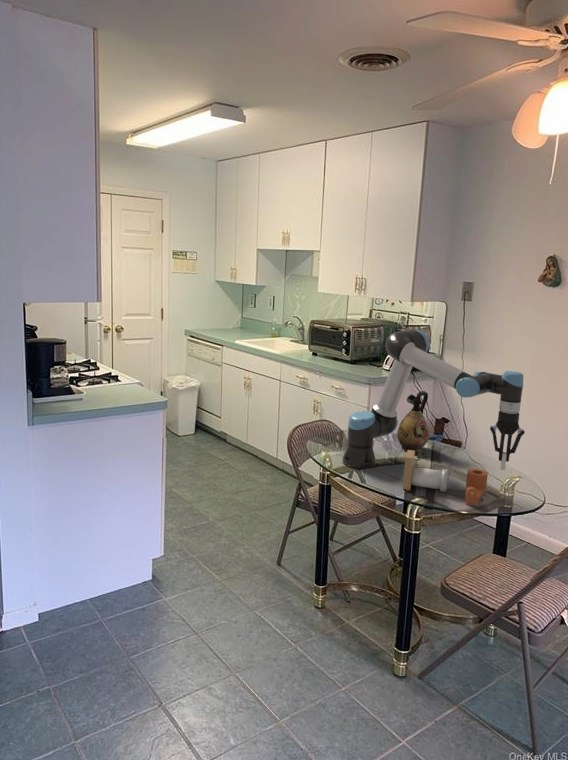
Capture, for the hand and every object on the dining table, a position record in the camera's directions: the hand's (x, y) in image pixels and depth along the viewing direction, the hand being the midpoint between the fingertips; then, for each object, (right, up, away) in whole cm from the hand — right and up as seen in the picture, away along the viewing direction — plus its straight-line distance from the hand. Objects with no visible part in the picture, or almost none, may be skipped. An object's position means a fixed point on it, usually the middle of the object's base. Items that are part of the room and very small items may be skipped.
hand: (502, 468), depth 228 cm
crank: (-13, -7, +5) cm, 16 cm away
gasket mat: (-13, -11, +7) cm, 19 cm away
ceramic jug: (-22, 0, +60) cm, 64 cm away
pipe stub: (-28, -10, +11) cm, 32 cm away
